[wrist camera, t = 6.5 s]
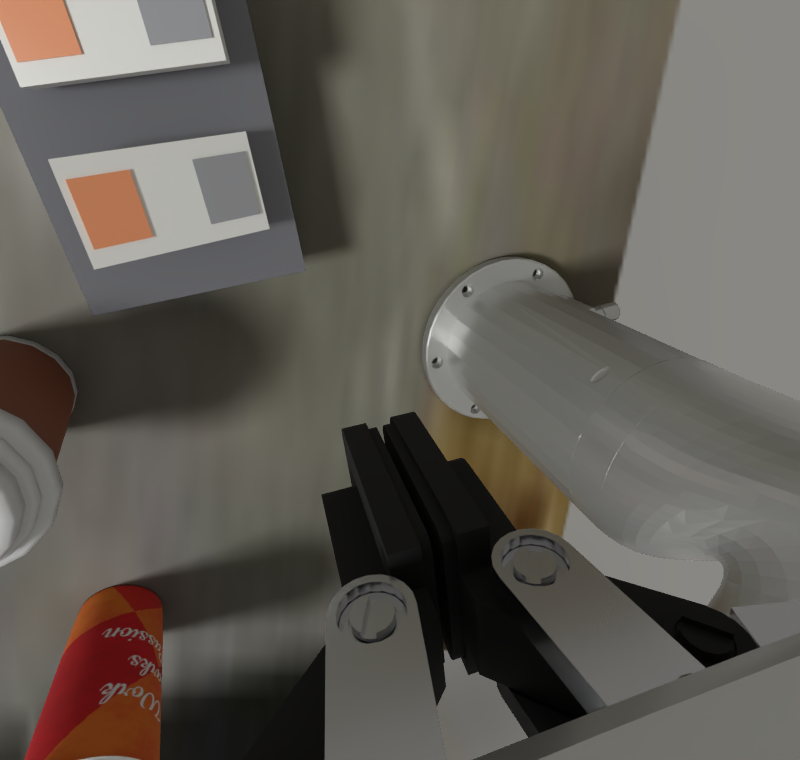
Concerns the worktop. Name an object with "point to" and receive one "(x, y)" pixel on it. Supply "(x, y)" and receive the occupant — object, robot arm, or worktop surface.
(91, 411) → the worktop surface
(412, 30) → the worktop surface
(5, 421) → the coffee cup
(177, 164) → the plate
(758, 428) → the robot arm
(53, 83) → the rocker middle
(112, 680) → the paper cup
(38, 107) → the rocker switch panel
